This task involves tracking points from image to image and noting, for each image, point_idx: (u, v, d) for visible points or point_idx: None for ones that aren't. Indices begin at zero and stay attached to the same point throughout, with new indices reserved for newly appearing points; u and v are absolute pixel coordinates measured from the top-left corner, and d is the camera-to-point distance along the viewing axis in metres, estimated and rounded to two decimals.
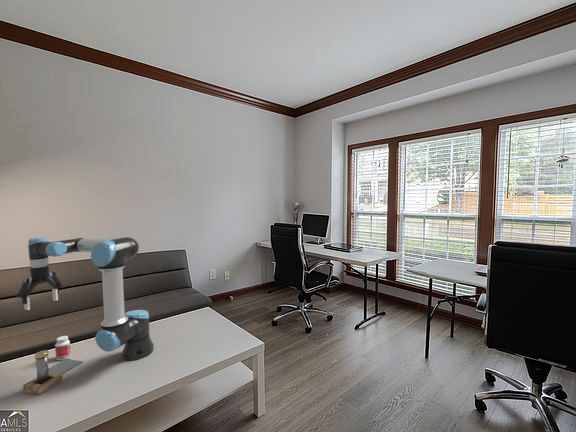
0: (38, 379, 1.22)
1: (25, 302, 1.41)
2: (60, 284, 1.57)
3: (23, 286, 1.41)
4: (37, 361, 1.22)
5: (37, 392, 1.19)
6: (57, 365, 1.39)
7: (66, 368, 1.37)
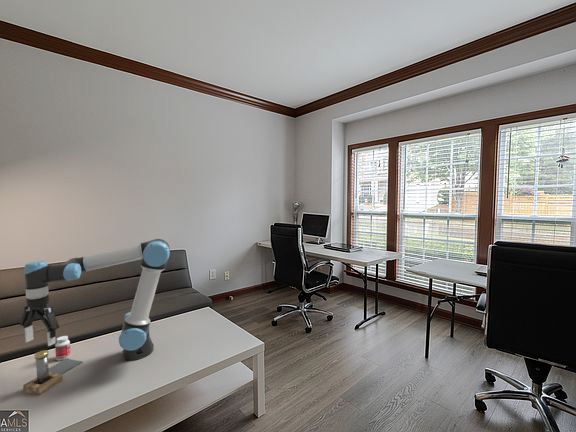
0: (38, 379, 1.22)
1: None
2: (51, 327, 1.20)
3: None
4: (37, 361, 1.22)
5: (37, 392, 1.19)
6: (57, 365, 1.39)
7: (66, 368, 1.37)
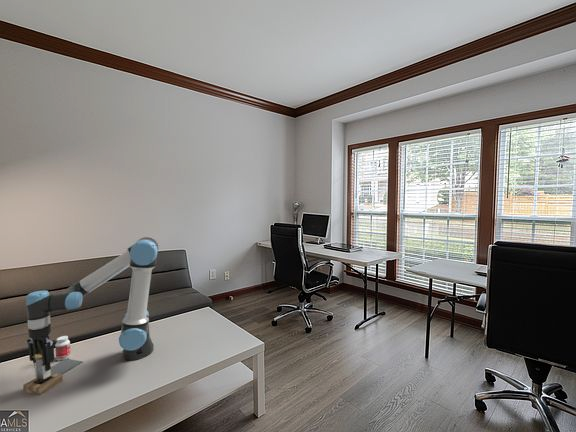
0: (38, 379, 1.22)
1: None
2: (47, 360, 1.21)
3: None
4: (37, 361, 1.22)
5: (37, 392, 1.19)
6: (57, 365, 1.39)
7: (66, 368, 1.37)
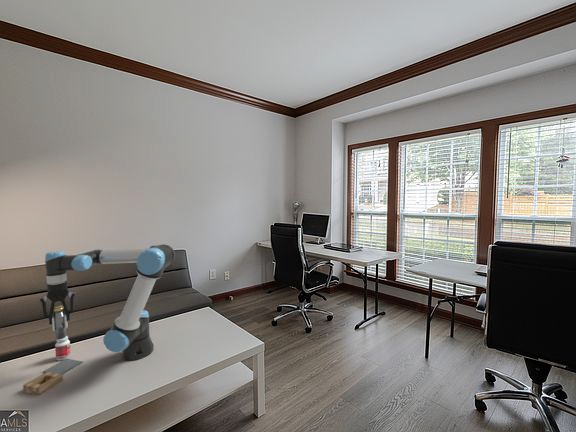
0: (60, 330, 1.35)
1: (50, 322, 1.34)
2: (71, 310, 1.38)
3: None
4: (59, 313, 1.35)
5: (37, 392, 1.19)
6: (57, 365, 1.39)
7: (66, 368, 1.37)
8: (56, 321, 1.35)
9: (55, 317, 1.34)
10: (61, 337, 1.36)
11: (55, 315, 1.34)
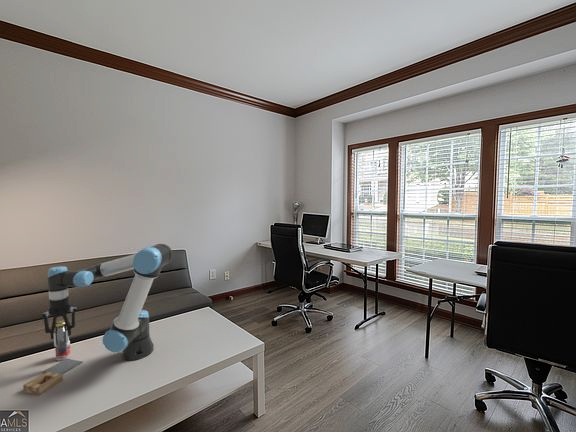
0: (61, 345, 1.36)
1: (52, 337, 1.35)
2: (73, 325, 1.39)
3: None
4: (60, 329, 1.36)
5: (37, 392, 1.19)
6: (57, 365, 1.39)
7: (66, 368, 1.37)
8: (57, 336, 1.36)
9: (57, 332, 1.36)
10: (62, 352, 1.37)
11: (57, 330, 1.36)
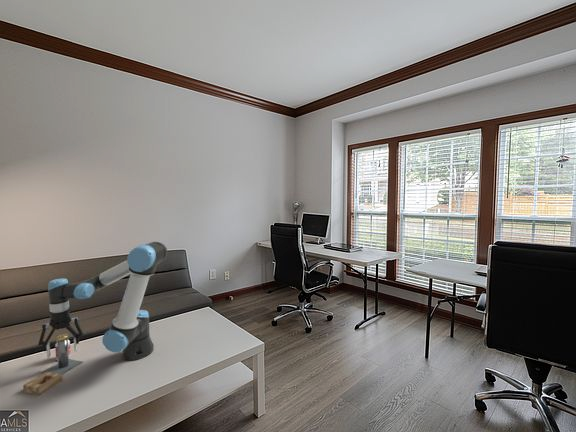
0: (62, 359, 1.37)
1: (45, 349, 1.34)
2: (80, 333, 1.41)
3: None
4: (62, 343, 1.36)
5: (37, 392, 1.19)
6: (57, 365, 1.39)
7: (66, 368, 1.37)
8: (59, 350, 1.36)
9: (58, 346, 1.36)
10: (64, 366, 1.37)
11: (58, 344, 1.36)
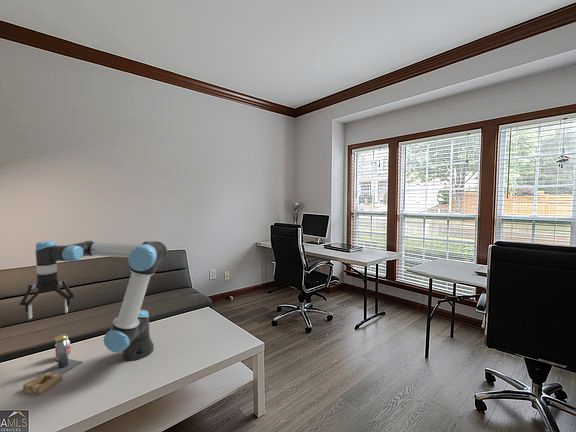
0: (62, 359, 1.37)
1: (26, 310, 1.31)
2: (71, 295, 1.39)
3: (26, 292, 1.31)
4: (61, 343, 1.36)
5: (37, 392, 1.19)
6: (57, 365, 1.39)
7: (66, 368, 1.37)
8: (58, 350, 1.36)
9: (57, 346, 1.36)
10: (63, 366, 1.37)
11: (57, 344, 1.36)
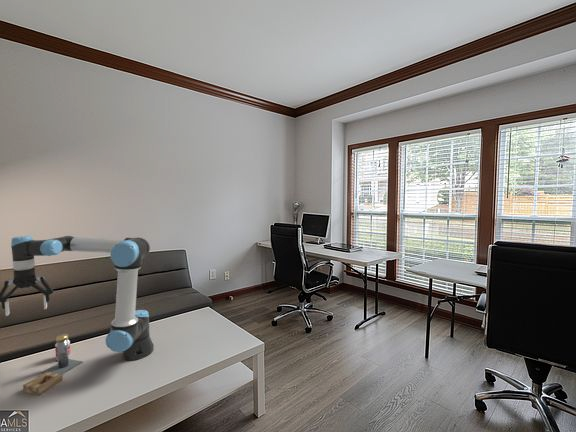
0: (62, 359, 1.37)
1: (3, 307, 1.28)
2: (50, 291, 1.36)
3: (2, 289, 1.28)
4: (62, 343, 1.36)
5: (37, 392, 1.19)
6: (57, 365, 1.39)
7: (66, 368, 1.37)
8: (59, 350, 1.36)
9: (58, 346, 1.36)
10: (64, 366, 1.37)
11: (58, 344, 1.36)
